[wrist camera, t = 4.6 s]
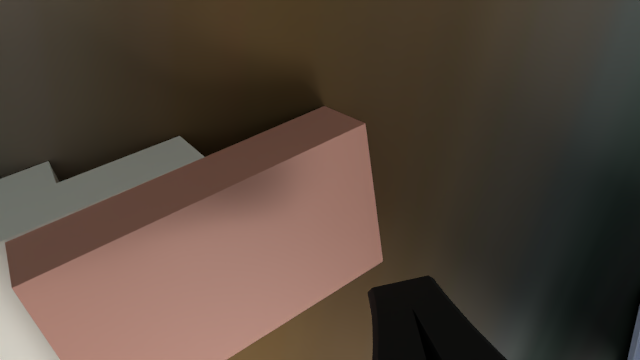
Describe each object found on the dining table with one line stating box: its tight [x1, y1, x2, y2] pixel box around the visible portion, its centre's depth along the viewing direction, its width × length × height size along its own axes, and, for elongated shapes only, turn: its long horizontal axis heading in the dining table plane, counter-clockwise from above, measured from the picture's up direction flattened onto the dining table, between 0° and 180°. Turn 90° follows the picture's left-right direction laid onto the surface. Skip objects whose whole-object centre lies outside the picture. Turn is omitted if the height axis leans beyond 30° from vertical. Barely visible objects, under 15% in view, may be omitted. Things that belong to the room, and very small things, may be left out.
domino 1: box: [0, 136, 204, 360], centre depth 13 cm, size 2×5×9 cm
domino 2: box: [5, 106, 383, 360], centre depth 13 cm, size 2×5×9 cm
